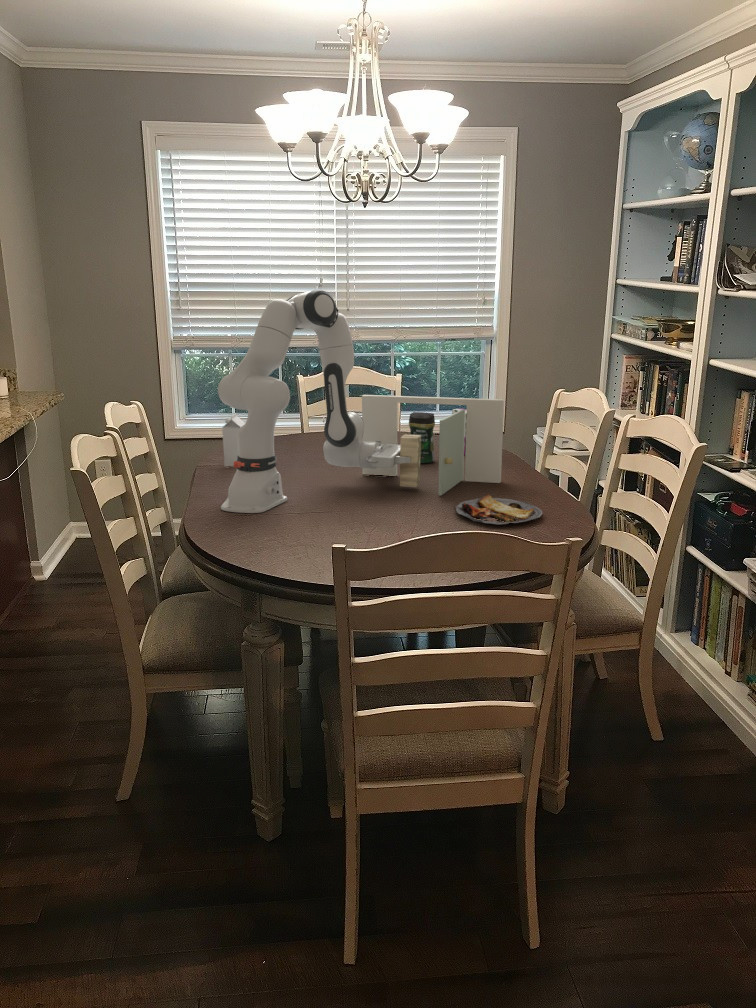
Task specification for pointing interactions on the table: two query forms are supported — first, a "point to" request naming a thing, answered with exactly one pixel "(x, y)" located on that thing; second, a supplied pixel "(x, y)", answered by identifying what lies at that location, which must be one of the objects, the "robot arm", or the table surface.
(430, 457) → the coffee jar
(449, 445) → the door
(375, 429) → the door frame
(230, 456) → the milk carton
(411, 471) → the doorstop block
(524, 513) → the food plate
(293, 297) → the robot arm
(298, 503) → the table surface
